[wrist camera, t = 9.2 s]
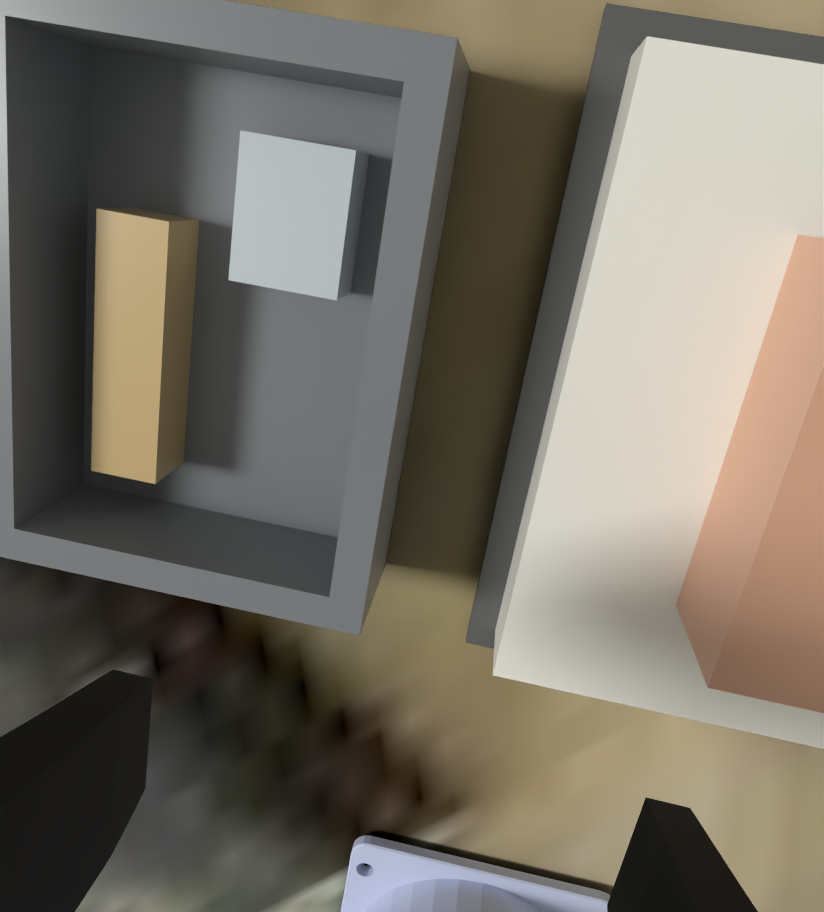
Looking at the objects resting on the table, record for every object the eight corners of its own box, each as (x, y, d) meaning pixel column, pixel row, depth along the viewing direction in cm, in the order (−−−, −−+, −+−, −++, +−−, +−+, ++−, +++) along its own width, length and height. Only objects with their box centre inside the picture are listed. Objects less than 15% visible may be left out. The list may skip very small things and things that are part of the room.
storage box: (385, 564, 20) (359, 635, 17) (66, 496, 21) (-19, 552, 18) (469, 70, 16) (457, 38, 13) (71, 5, 17) (-39, -42, 14)
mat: (920, 730, 20) (930, 743, 19) (466, 632, 21) (465, 642, 20) (1223, 106, 15) (1246, 103, 14) (604, 9, 15) (606, 3, 15)
